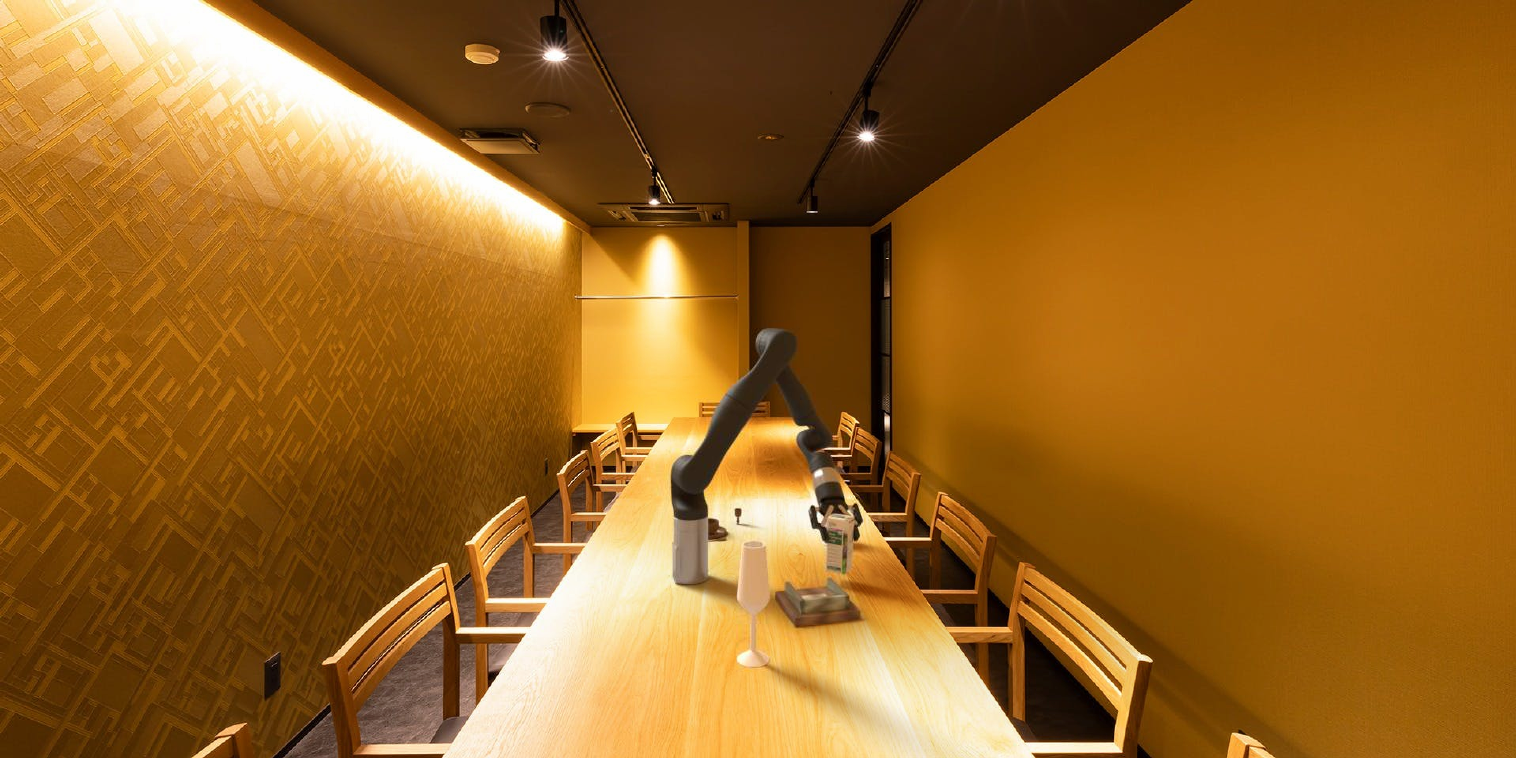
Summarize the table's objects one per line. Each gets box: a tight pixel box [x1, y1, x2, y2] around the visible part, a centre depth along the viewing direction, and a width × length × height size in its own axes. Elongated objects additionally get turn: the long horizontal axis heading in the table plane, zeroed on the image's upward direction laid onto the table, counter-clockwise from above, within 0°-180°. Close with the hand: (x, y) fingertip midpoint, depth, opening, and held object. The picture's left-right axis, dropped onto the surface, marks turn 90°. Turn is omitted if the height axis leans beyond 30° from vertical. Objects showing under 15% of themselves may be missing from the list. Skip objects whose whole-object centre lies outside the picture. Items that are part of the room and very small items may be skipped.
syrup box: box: [825, 514, 854, 575], centre depth 179 cm, size 6×6×14 cm
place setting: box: [708, 507, 742, 543], centre depth 223 cm, size 18×20×6 cm
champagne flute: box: [736, 540, 771, 668], centre depth 137 cm, size 7×7×24 cm
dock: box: [774, 577, 862, 628], centre depth 163 cm, size 16×16×5 cm
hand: (842, 540), depth 177 cm, fingers closed on syrup box, 8 cm apart
